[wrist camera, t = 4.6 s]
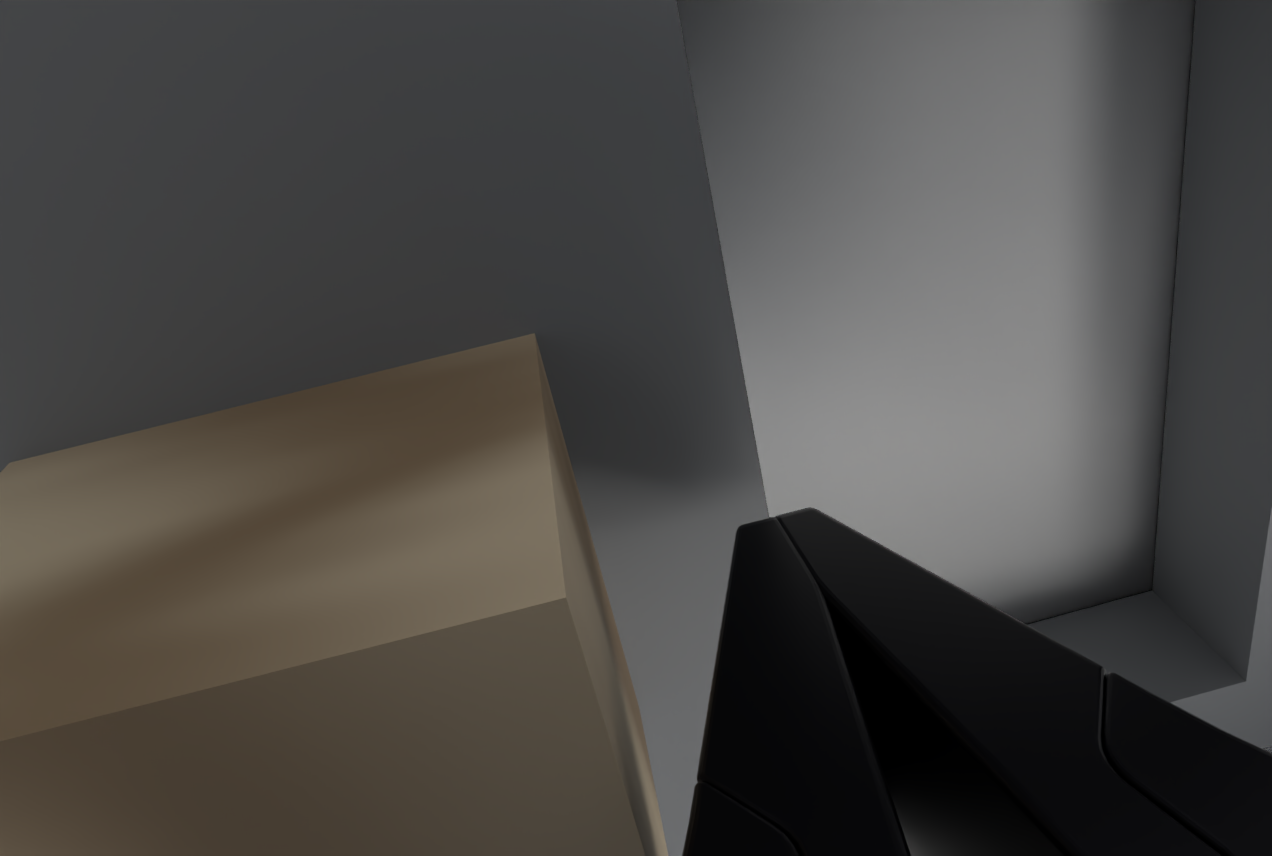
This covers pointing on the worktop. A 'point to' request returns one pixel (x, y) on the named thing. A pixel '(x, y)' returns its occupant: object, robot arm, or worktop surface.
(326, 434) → the maple block
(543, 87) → the trap deck
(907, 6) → the worktop surface
